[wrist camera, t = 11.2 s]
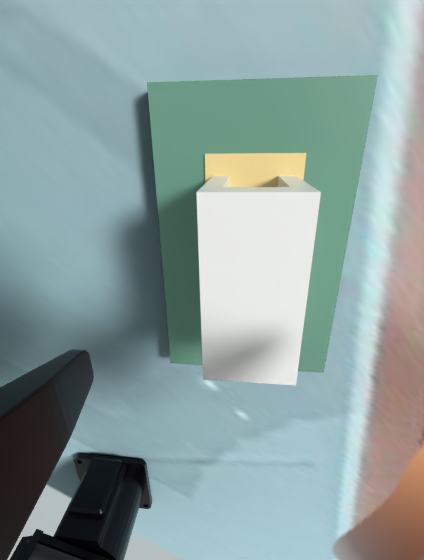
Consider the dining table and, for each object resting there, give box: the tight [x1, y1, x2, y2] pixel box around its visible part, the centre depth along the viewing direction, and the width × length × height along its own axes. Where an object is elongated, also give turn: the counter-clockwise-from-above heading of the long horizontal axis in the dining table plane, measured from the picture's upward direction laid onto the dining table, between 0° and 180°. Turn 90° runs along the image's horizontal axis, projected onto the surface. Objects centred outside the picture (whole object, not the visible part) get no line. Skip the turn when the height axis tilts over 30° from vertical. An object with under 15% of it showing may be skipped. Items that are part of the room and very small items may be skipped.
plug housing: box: [196, 176, 321, 385], centre depth 14 cm, size 8×4×6 cm, turn 1°
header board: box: [147, 75, 378, 372], centre depth 16 cm, size 16×10×3 cm, turn 0°
